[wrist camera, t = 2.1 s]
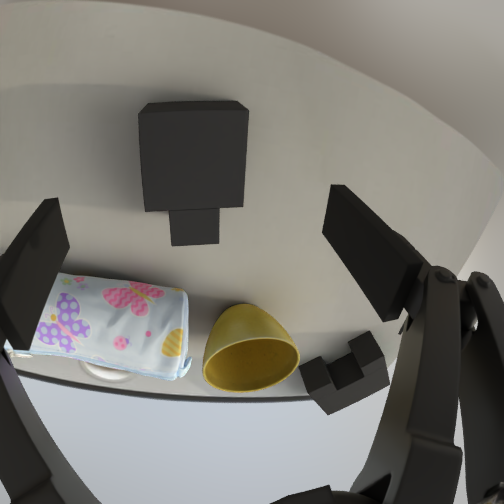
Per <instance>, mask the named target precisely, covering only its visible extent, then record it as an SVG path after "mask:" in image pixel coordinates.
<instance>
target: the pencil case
mask: <svg viewBox="0 0 504 504" xmlns="http://www.w3.org/2000/svg"><path fill="white" fill-rule="evenodd" d="M188 331H189V328H188V296H187V294H186V292H184V290H183V289H179V288H173V287H163V286H157V285H151V284H146V283H140V282H134V281H126V280H116V279H105V278H98V277H90V276H76V275H70V274H65V273H60V272H58V275H57V277H56V279H55V282H54V284H53V287H52V289H51V292H50V294H49V297H48V299H47V302H46V304H45V307H44V310H43V312H42V315H41V318H40V320H39V323H38V326H37V329H36V332H35V335H34V338H33V341H32V344H31V347H30V350H29V351H24V350H13V348H12V346H11V345H10V343H9V342H8V340H6V342H5V345H4V348H5V350H6V351H7V353H8V355H9V357H13V356H16V357H25V358H31V357H33V355H31V354H41V355H56V356H63V357H70V358H74V359H77V360H81V361H85V362H89V363H92V364H95V365H99V366H104V367H109V368H114V369H120V370H126V371H130V372H133V373H136V374H140V375H144V376H150V377H155V378H159V379H163V380H168V381H171V380H174V379H176V378H177V377H183V376H184V375H185V374H186V373H187V371H188V369H189V368H190V366H191V360H192V357H189V358H188V359H186V356H187V351H188ZM30 353H31V354H30Z"/></svg>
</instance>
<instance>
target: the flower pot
mask: <svg viewBox="0 0 504 504" xmlns="http://www.w3.org/2000/svg"><path fill="white" fill-rule="evenodd" d="M299 361H300V354H299V351H298V349H297V347H296V345H295V343H294V342H293V340H292V339H291V337H290V336H289V334H288V333H287V332H286V330H285V329H284V328H283V327H282V326H281V325H280V324H279V323H278V322H277V321H276V320H275V319H274V318H273V317H272V316H271V315H269V314H268V313H267V312H265V311H263V310H262V309H260V308H258V307H256V306H254V305H251V304H238V305H234V306H232V307H230V308H228V309H226V310H225V311H224V312H223V313H222V314H221V315H220V317H219V318H218V320H217V321H216V323H215V324H214V326H213V328H212V330H211V333H210V335H209V338H208V341H207V344H206V347H205V352H204V357H203V368H202V373H203V377H204V379H205V381H206V382H207V383H208V384H209V385H211V386H213V387H214V388H217V389H219V390H223V391H227V392H237V393H243V392H253V391H258V390H262V389H266V388H269V387H271V386H273V385H276V384H278V383H280V382H281V381H283V380H284V379H286V378H287V377H288V376H290V375H291V374H292V373H293V372H294V371H295V369H296V368H297V366H298V364H299Z"/></svg>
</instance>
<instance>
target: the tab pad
mask: <svg viewBox="0 0 504 504" xmlns="http://www.w3.org/2000/svg"><path fill="white" fill-rule="evenodd" d="M248 120H249V110H248V109H247V108H245V107H244V106H243V105H242V104H240V103H239V102H238V101H181V102H161V103H148V104H147V105H146V106H145V107H144V108H143V109H142V110H141V111H140V112H139V113H138V124H139V145H140V161H141V174H142V186H143V196H144V206H145V212H151V211H167V210H169V221H170V233H171V245H172V246H187V245H205V244H219V213H220V208H231V207H243V203H244V185H245V168H246V152H247V136H248Z"/></svg>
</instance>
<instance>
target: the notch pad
mask: <svg viewBox="0 0 504 504" xmlns="http://www.w3.org/2000/svg"><path fill="white" fill-rule="evenodd" d="M348 343H349V345H350V348H351V350H352V353H350V354H349V355H347V356H345V357H343V358H341V359H339V360H337V361H335V362H333V363H331V364H329V365H327V366H326V364H325V363H324V361H323V359H322V358H321V356H320V357H318V358H316V359H314V360H312V361H310V362H307V363H305V364H303V365H301V366H299V370H300V373H301V376H302V378H303V381H304V384H305V387H306V389H307V392H308V394H309V395H310V396H311V397H312V398H313V400H314V401H315V402H316V403H317V404H318V405H319V406H320V407H321V408H322V409H323V411H324V412H325V413H326V414H327V415H330V414H332V413H334V412H337V411H339V410H341V409H343V408H345V407H347V406H349V405H351V404H353V403H356V402H358V401H360V400H362V399H363V398H366V397H368V396H370V395H371V394H373V393H375V392H377V391H379V390H381V389H383V388H385V387H387V386H388V385H390V381H389V376H388V371H387V366H386V362H385V357H384V354H383V353H382V351H381V349H380V347H379V346H378V344H377V342H376V340H375V339H374V337H373V335H372V333H371V332H370V331H368V332H366V333H365V334H363V335H361V336H359V337H357V338H355V339H353V340H351V341H350V342H348Z"/></svg>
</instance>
